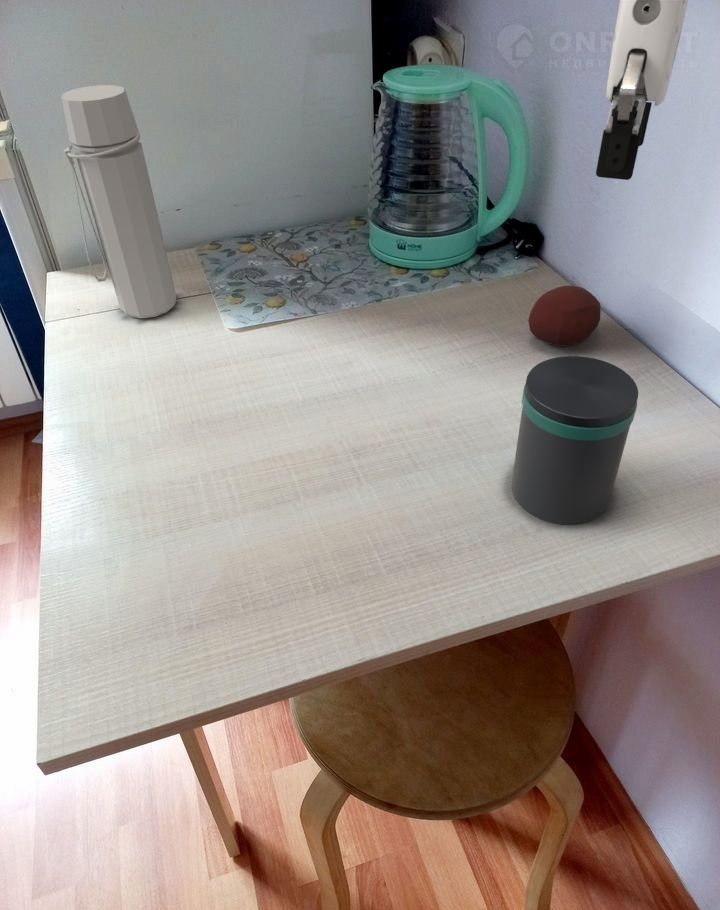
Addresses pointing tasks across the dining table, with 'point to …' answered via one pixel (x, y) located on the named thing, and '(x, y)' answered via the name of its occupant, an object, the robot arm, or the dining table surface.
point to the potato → (565, 316)
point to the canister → (572, 437)
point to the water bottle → (119, 198)
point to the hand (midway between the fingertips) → (620, 160)
